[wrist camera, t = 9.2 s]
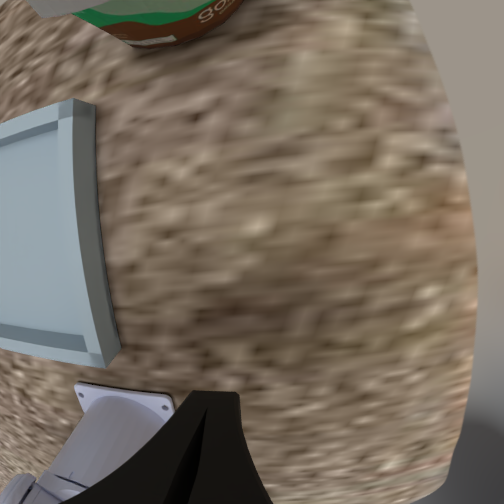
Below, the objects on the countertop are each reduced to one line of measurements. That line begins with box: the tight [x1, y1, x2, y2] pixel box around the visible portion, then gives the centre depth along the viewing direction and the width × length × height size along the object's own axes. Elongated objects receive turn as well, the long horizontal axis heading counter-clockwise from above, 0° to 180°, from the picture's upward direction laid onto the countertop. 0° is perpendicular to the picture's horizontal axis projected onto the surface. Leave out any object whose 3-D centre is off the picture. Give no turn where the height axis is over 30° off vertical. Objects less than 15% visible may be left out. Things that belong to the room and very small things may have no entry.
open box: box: [0, 98, 121, 368], centre depth 16 cm, size 15×14×2 cm
